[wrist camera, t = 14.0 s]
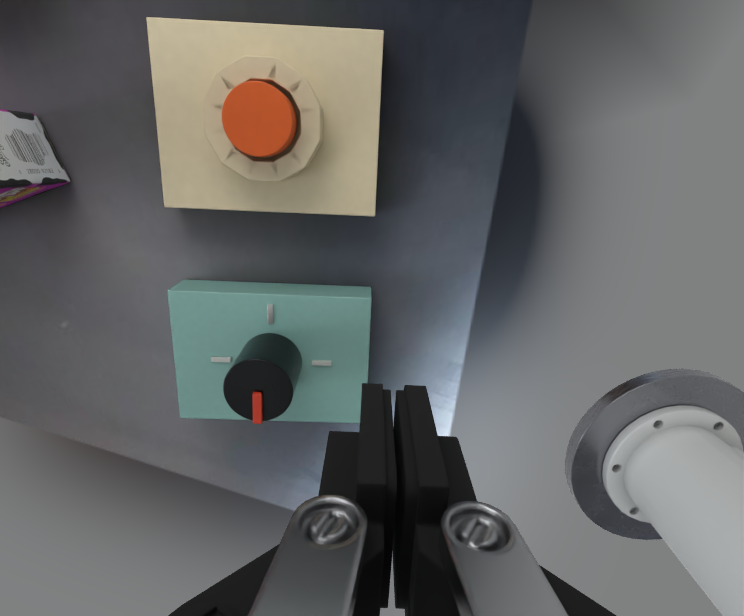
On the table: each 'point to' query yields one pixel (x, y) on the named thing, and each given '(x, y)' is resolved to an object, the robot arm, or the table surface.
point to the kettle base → (303, 89)
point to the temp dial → (263, 377)
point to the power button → (258, 119)
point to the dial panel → (280, 316)
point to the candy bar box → (26, 158)
